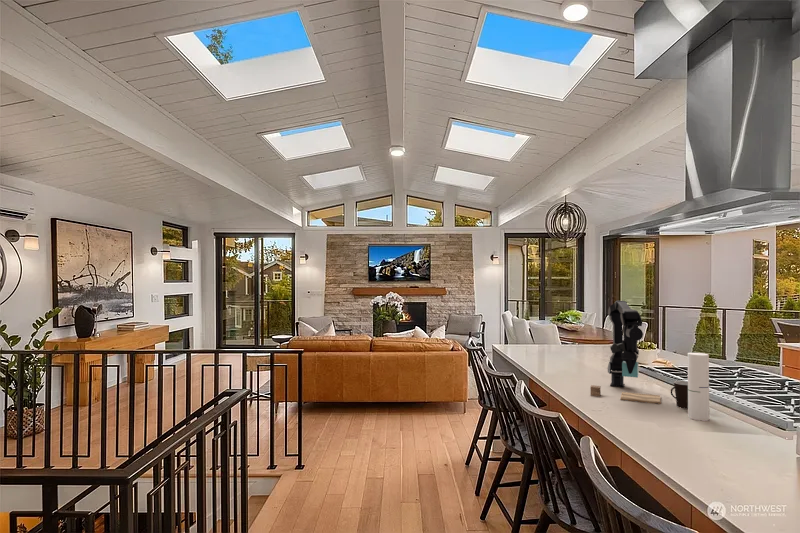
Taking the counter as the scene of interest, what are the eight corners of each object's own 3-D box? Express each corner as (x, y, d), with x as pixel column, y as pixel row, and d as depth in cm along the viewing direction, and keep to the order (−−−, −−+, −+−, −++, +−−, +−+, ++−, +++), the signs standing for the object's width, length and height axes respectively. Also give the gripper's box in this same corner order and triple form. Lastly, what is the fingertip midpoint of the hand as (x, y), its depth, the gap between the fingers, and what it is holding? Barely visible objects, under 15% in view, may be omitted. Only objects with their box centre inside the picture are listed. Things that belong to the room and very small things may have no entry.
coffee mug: (691, 404, 222) (691, 381, 222) (701, 409, 213) (700, 385, 213) (663, 403, 223) (663, 380, 223) (671, 408, 214) (671, 384, 214)
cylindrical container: (712, 421, 196) (711, 355, 197) (691, 420, 198) (691, 355, 198) (705, 416, 203) (704, 352, 204) (685, 415, 205) (684, 352, 205)
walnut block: (591, 393, 242) (591, 385, 242) (600, 394, 240) (600, 385, 241) (590, 395, 239) (590, 386, 239) (599, 396, 237) (599, 387, 237)
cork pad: (622, 393, 242) (622, 391, 242) (660, 397, 235) (660, 395, 235) (620, 400, 229) (620, 398, 229) (660, 404, 222) (660, 402, 222)
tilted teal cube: (623, 373, 238) (623, 360, 238) (638, 375, 235) (638, 361, 235) (622, 376, 232) (622, 362, 233) (637, 377, 229) (637, 364, 230)
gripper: (613, 335, 246) (613, 367, 246) (609, 339, 230) (609, 374, 229) (638, 336, 241) (639, 369, 241) (636, 340, 224) (636, 376, 224)
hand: (630, 372), depth 234 cm, fingers closed on tilted teal cube, 6 cm apart
